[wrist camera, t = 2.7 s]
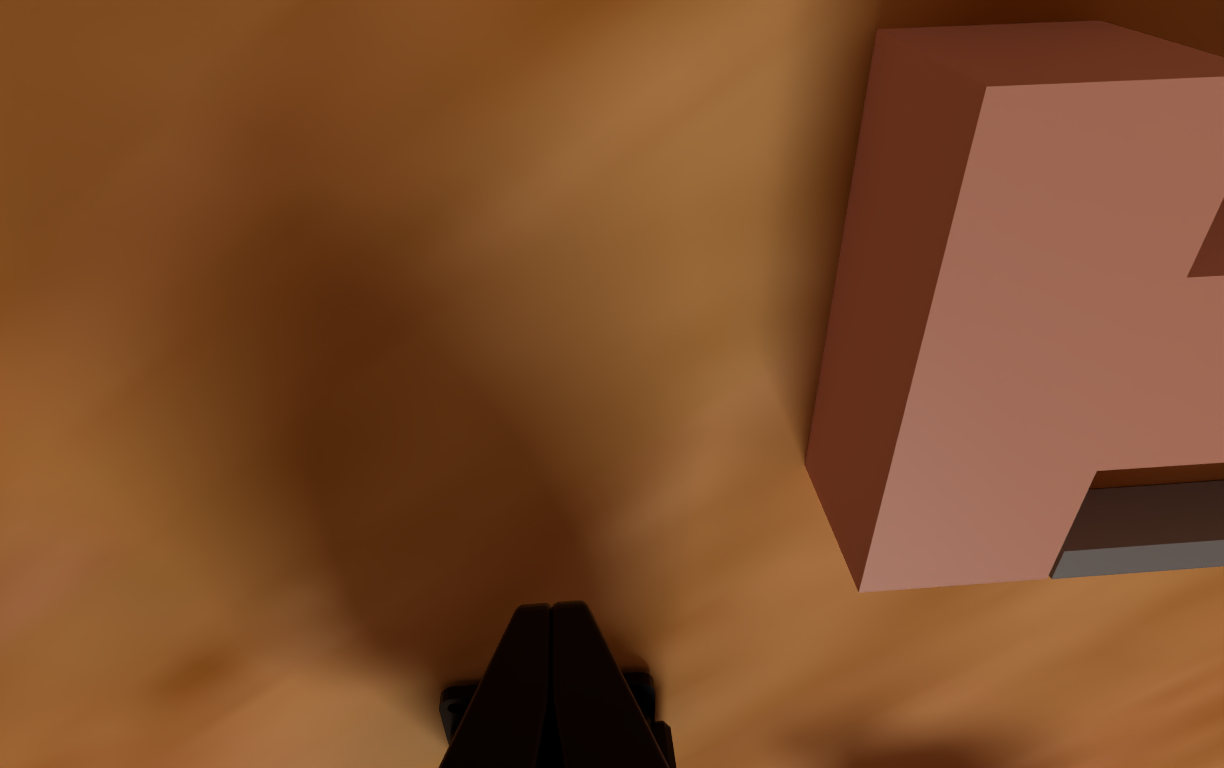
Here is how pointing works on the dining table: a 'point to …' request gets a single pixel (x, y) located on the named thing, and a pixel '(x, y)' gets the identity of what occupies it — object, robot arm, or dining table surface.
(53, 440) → the dining table surface
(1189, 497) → the t socket
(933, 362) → the t block
